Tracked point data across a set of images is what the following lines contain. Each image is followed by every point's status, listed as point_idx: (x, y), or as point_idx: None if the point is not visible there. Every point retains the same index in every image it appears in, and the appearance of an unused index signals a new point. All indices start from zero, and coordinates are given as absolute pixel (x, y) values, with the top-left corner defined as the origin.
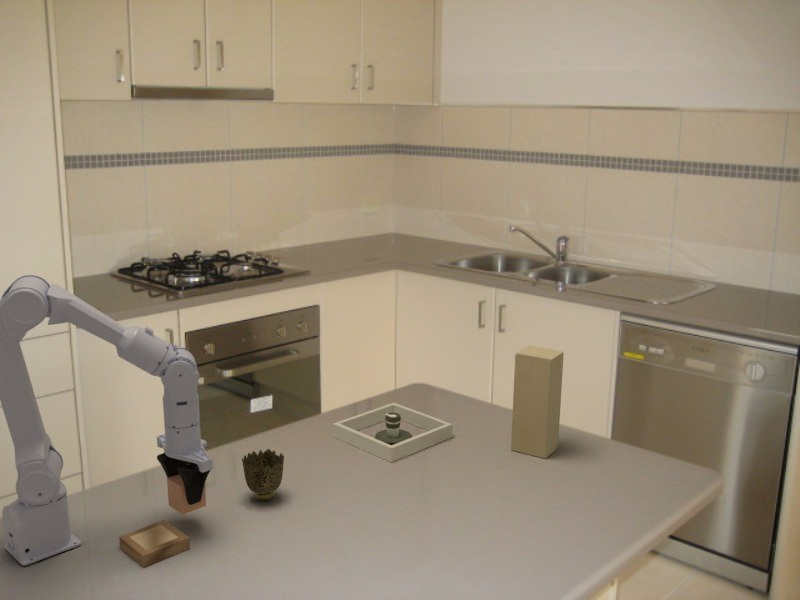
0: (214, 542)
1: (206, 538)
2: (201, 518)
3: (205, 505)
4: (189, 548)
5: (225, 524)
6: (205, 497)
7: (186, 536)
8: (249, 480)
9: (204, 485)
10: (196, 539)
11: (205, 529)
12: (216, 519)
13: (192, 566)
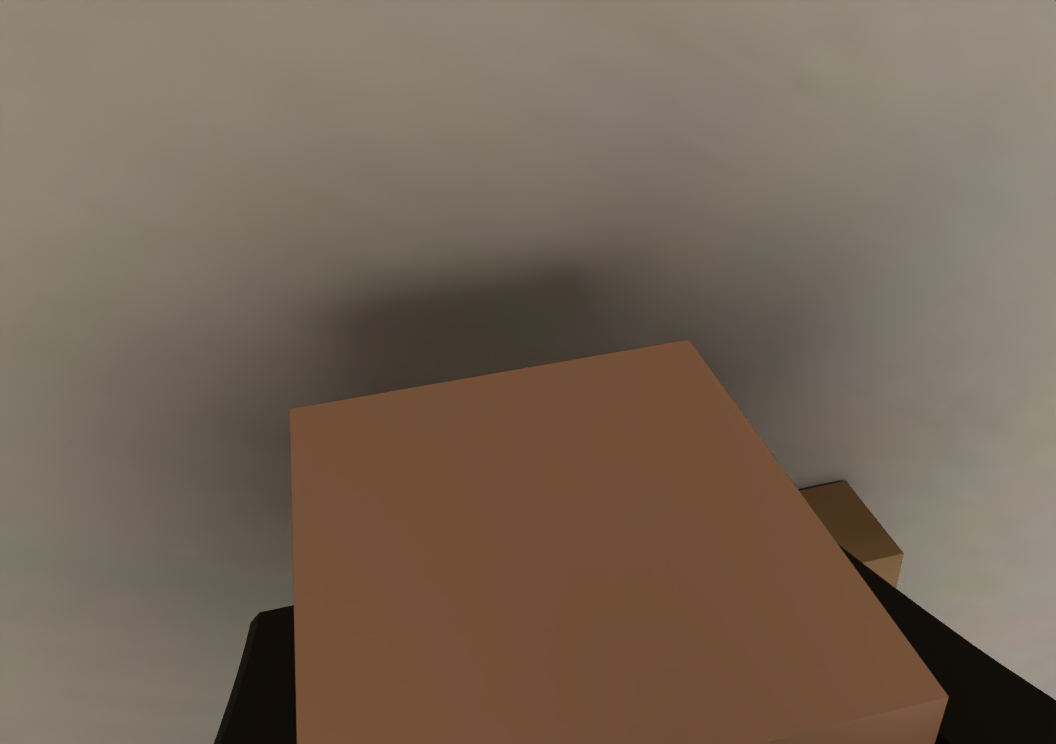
0: (933, 288)
1: (820, 320)
2: (411, 209)
3: (691, 352)
4: (845, 482)
5: (739, 34)
6: (745, 420)
7: (874, 565)
8: None
9: (862, 584)
10: (764, 395)
11: (669, 266)
12: (555, 68)
13: (1041, 522)
